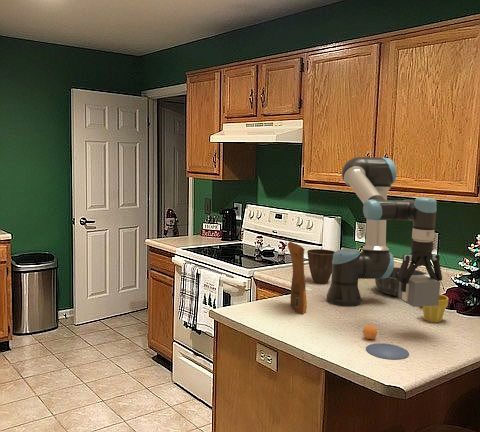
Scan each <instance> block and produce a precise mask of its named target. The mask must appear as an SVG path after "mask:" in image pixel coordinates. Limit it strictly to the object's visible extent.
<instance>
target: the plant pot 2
mask: <svg viewBox="0 0 480 432" xmlns="http://www.w3.org/2000/svg"><path fill="white" fill-rule="evenodd" d="M448 305H449V297H448V296H446V295H444V294H440V293H439V304H438V305H437V306H423V308H422V314H423V319H424V320H425V321H427V322H432V323H441V322H442V320H443V316H444V314H445V311H446V308H447V307H448Z"/></svg>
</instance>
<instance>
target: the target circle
mask: <svg viewBox="0 0 480 432" xmlns="http://www.w3.org/2000/svg"><path fill="white" fill-rule="evenodd" d="M365 351H366V352H367V353H368V354H370V355H371V356H374V357H376V358H379V359H384V360H392V361H393V360H394V361H395V360H397V361H398V360H403V359H406V358H408V357H409V356H410V352H409V351H408V350H407V349H406V348H404V347H402V346H399V345H396V344H391V343H380V342H379V343H371V344H368V345H367V346H365Z"/></svg>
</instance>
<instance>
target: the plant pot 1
mask: <svg viewBox="0 0 480 432" xmlns="http://www.w3.org/2000/svg"><path fill="white" fill-rule="evenodd" d="M335 252H336V251H335V250H331V249H322V248H321V249H320V248H313V249H308V250H307V260H308V268H309V271H310V272H309V273H310V275H311V279H312V282H313V283H314V282H316V283H315V284H318V283H320V284H319V285H326V284H329V281H330V279H331V277H332V260H333V254H334V253H335Z"/></svg>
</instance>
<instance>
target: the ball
mask: <svg viewBox="0 0 480 432" xmlns="http://www.w3.org/2000/svg"><path fill="white" fill-rule="evenodd" d="M362 335H363V337H364V338H365V339H367V340H374V339H376V338H377V336H378V330H377V328H376V327H375V326H374V325H372V324H367V325H365V326H364V327H363V329H362Z"/></svg>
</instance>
